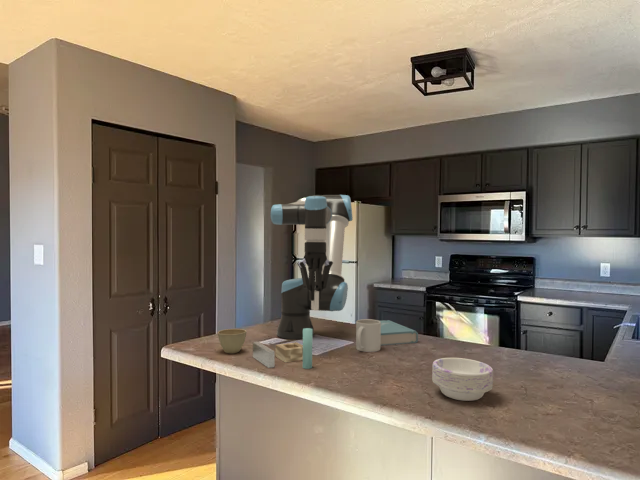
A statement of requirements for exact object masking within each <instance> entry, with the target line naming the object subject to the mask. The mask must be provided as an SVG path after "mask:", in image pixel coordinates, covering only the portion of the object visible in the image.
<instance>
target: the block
mask: <svg viewBox="0 0 640 480" xmlns="http://www.w3.org/2000/svg"><path fill="white" fill-rule="evenodd" d="M274 351H275V357H276V358H277V359H278V360H280V361H282V362H284V363H291V362H300V361H303V344H301V343H299V342H297V341H296V342H288V343H281V344H280V343H279V344H275V350H274Z"/></svg>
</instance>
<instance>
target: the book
mask: <svg viewBox="0 0 640 480" xmlns="http://www.w3.org/2000/svg"><path fill="white" fill-rule="evenodd" d="M379 321H380V322H381V346H392V345H403V344H416V343H418V342H419V332H418V331H416V330H414V329H412V328H409V327H408V326H406V325H405V326H404V325H402V324H400V323H397V322H394V321H392V320H389V319H387V320H383V319H382V320H379Z"/></svg>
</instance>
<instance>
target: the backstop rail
mask: <svg viewBox="0 0 640 480" xmlns="http://www.w3.org/2000/svg"><path fill="white" fill-rule="evenodd" d="M252 358H254V359H255V360H257V362H259V363H261V364H262V365H263V366H265V367H266V368H268V369H271V368H275V350H273V348H272V349H271V348H270V347H268V346H266V345H265V344H263V343H261V342H260V341H253V342H252Z"/></svg>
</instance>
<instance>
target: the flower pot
mask: <svg viewBox="0 0 640 480" xmlns="http://www.w3.org/2000/svg"><path fill="white" fill-rule="evenodd" d="M246 336H247V330H246V329H243V328H227V329H220V330H219V331H217V338H218V341H219V343H220V346H221V348H222V350H223V351H224V353H226V354H236V353H240V351H241V350H242V348H243V346H244V343H245V341H246V338H247V337H246Z"/></svg>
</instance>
